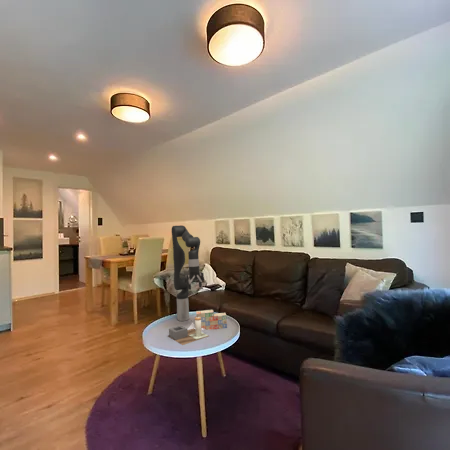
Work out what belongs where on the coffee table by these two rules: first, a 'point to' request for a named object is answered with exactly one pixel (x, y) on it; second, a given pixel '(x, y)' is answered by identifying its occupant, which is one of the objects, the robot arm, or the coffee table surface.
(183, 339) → the base board
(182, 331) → the grey square frame
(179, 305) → the robot arm
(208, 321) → the stack of blocks
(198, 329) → the plug
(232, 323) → the coffee table surface
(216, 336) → the coffee table surface
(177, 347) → the coffee table surface
